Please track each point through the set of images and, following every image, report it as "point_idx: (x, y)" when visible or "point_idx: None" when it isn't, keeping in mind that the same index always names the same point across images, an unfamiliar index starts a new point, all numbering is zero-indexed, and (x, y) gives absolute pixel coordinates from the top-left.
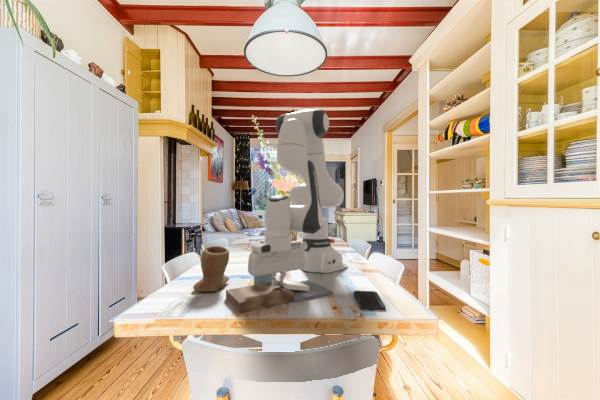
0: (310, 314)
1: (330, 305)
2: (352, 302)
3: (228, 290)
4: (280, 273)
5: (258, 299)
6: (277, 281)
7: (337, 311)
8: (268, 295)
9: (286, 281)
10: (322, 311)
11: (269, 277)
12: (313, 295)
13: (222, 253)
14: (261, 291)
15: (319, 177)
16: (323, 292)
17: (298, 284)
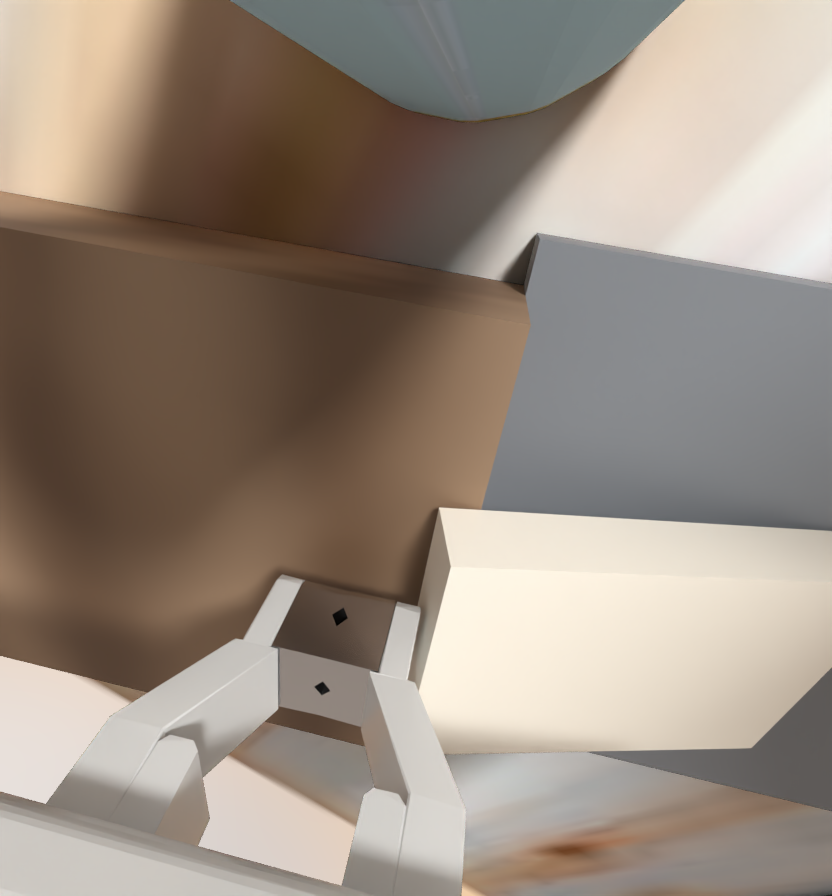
0: None
1: (583, 831)
2: (743, 890)
3: None
4: (359, 817)
5: (33, 660)
6: (288, 699)
7: (530, 867)
8: (143, 665)
9: (543, 635)
10: None
11: (499, 86)
12: (626, 759)
13: None
14: (99, 550)
15: None
16: (774, 786)
17: (649, 713)
